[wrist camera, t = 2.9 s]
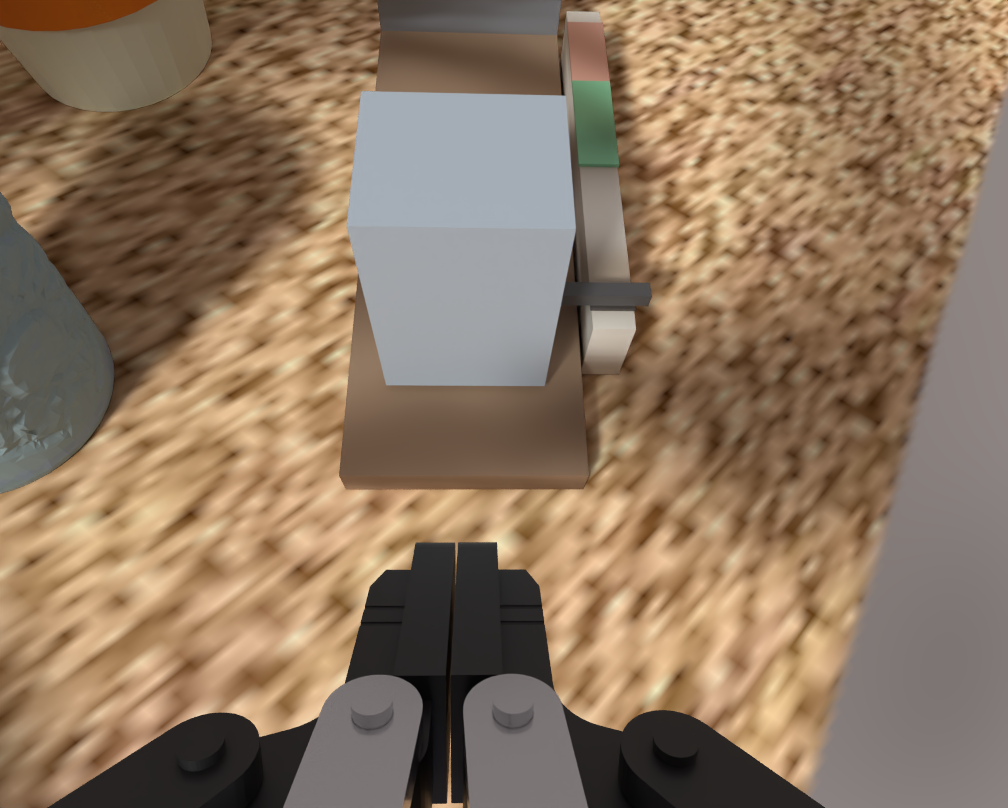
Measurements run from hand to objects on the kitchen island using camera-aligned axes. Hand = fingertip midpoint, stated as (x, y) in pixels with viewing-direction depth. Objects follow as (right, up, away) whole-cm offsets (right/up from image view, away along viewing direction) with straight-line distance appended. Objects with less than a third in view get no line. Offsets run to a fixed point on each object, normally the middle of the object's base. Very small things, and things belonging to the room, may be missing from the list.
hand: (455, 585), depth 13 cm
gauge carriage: (+1, +8, +15) cm, 17 cm away
